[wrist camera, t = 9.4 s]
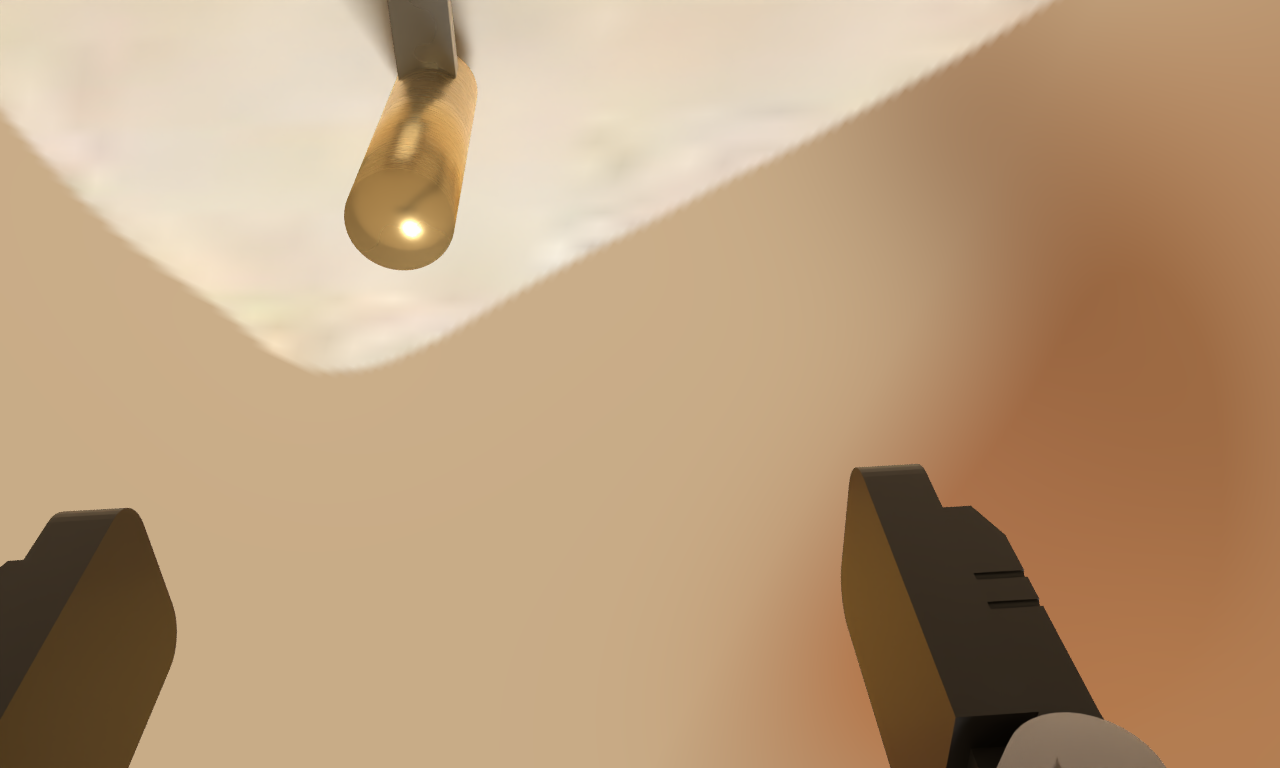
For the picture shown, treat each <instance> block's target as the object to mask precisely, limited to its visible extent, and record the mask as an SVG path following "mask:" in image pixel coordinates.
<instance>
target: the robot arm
mask: <svg viewBox="0 0 1280 768" xmlns="http://www.w3.org/2000/svg"><path fill="white" fill-rule="evenodd" d="M841 591H842V601H843V608H844V614H845V619H846V623H847V626H848V630H849V633H850V636H851V640H852V643H853V646H854V649H855V653H856V656H857V659H858V663H859V666H860V669H861V672H862V675H863V679H864V682H865V686H866V689H867V692H868V695H869V699H870V702H871V705H872V708H873V712H874V715H875V718H876V721H877V725H878V728H879V731H880V735H881V738H882V741H883V745H884V748H885V751H886V754H887V758H888V761H889V764H890V767H891V768H1166V767H1165V765H1164V764H1163V763H1162V761H1161V760H1160V758H1159V757H1158V756H1157V755H1156V754H1155V753H1154V752H1153V751H1152V750H1151V749H1150V748H1149V747H1148V746H1147V745H1146V744H1145V743H1144V742H1142V741H1141V740H1140V739H1139V738H1137V737H1136V736H1135V735H1133V734H1131V733H1130V732H1128V731H1127V730H1125V729H1124V728H1121V727H1119V726H1117V725H1115V724H1113V723H1111V722H1109V721H1106V720H1104V719H1103V717H1102V715H1101V714H1100V712H1099V710H1098V709H1097V707H1096V705H1095V703H1094V701H1093V699H1092V697H1091V695H1090V694H1089V692H1088V690H1087V688H1086V686H1085V684H1084V682H1083V680H1082V678H1081V677H1080V675H1079V673H1078V671H1077V669H1076V667H1075V665H1074V663H1073V661H1072V660H1071V658H1070V656H1069V654H1068V652H1067V650H1066V648H1065V646H1064V645H1063V643H1062V641H1061V639H1060V637H1059V635H1058V634H1057V632H1056V629H1055V628H1054V626H1053V624H1052V622H1051V620H1050V618H1049V617H1048V614H1047V613H1046V611H1045V609H1044V607H1043V606H1040V604H1039V597H1038V596H1037V594H1036V592H1035V590H1034V588H1033V586H1032V584H1031V583H1030V581H1029V579H1028V577H1025V576H1024V569H1023V567H1022V566H1021V564H1020V562H1019V560H1018V558H1017V556H1016V554H1015V552H1014V551H1013V549H1012V547H1011V545H1010V543H1009V541H1008V539H1007V537H1006V535H1005V534H1003V533H1002V532H1001V531H1000V530H999V529H998V528H996V527H995V526H994V525H993V524H992V523H991V522H989V521H988V520H987V519H986V518H985V517H983V516H982V515H981V514H980V513H979V512H978V511H976V510H975V509H974V508H972V506H962V507H944V508H943V507H942V505H941V503H940V501H939V499H938V497H937V495H936V493H935V490H934V488H933V486H932V484H931V482H930V480H929V478H928V475H927V473H926V471H925V470H924V468H923V467H922V466H921V465H920V464H909V465H894V466H893V465H892V466H877V467H876V466H875V467H859V468H854V469H853V471H852V473H851V476H850V482H849V491H848V502H847V512H846V523H845V533H844V544H843V555H842V566H841ZM176 636H177V627H176V617H175V611H174V608H173V604H172V602H171V599H170V596H169V593H168V590H167V588H166V585H165V582H164V579H163V577H162V574H161V571H160V568H159V566H158V563H157V560H156V557H155V555H154V552H153V549H152V546H151V543H150V541H149V538H148V535H147V532H146V530H145V527H144V524H143V522H142V519H141V518H140V516H139V514H138V513H137V512H136V511H134V510H133V509H131V508H119V509H103V510H102V509H101V510H84V511H67V512H59V513H57V514H55V515H54V516H53V517H52V518H51V519H50V520H49V522H48V523H47V525H46V526H45V528H44V529H43V531H42V532H41V534H40V535H39V537H38V538H37V540H36V542H35V543H34V545H33V546H32V548H31V549H30V551H29V552H28V554H27V556H26V557H25V559H24V560H17V561H7V562H6V563H5V564H4V565H3V566H1V567H0V768H128V767H129V765H130V762H131V760H132V757H133V755H134V753H135V750H136V748H137V746H138V743H139V741H140V738H141V736H142V734H143V731H144V729H145V727H146V724H147V722H148V719H149V717H150V715H151V712H152V710H153V707H154V705H155V703H156V700H157V698H158V696H159V693H160V691H161V688H162V686H163V684H164V681H165V679H166V677H167V674H168V672H169V669H170V667H171V664H172V661H173V658H174V654H175V648H176V638H177V637H176Z"/></svg>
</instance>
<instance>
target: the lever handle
mask: <svg viewBox="0 0 1280 768" xmlns="http://www.w3.org/2000/svg"><path fill="white" fill-rule="evenodd" d="M387 1H388V8H389V15H390V22H391V29H392V36H393V44H394V51H395V58H396V65H397V72H398V76H397V79H396V81H395V84H394V86H393V89H392V91H391V93H390V96H389V98H388V101H387V103H386V106H385V108H384V111H383V113H382V116H381V118H380V120H379V123H378V125H377V128H376V130H375V133H374V135H373V138H372V140H371V142H370V145H369V147H368V150H367V152H366V155H365V157H364V160H363V162H362V164H361V167H360V169H359V172H358V174H357V177H356V179H355V182H354V184H353V186H352V189H351V191H350V194H349V196H348V199H347V202H346V205H345V210H344V220H345V226H346V230H347V233H348V235H349V237H350V239H351V241H352V243H353V244H354V245H355V247H356V248H357V249H358V250H359V251H360V252H361V253H362V254H363V255H364V256H365V257H366V258H368V259H369V260H371V261H372V262H374V263H376V264H378V265H380V266H383V267H386V268H390V269H395V270H413V269H418V268H421V267H424V266H427V265H429V264H431V263H433V262H434V261H435V260H437V259H438V258H439V257H440V256H441V255H442V254H443V253H444V252H445V251H446V250H447V248H448V246H449V245H450V242H451V240H452V237H453V233H454V228H455V222H456V217H457V211H458V205H459V199H460V193H461V188H462V182H463V176H464V170H465V164H466V158H467V153H468V147H469V141H470V135H471V129H472V124H473V118H474V112H475V106H476V100H477V85H476V81H475V78H474V75H473V73H472V71H471V70H470V68H469V67H468V66H467V64H466V63H465V62H464V61H462V60H461V59H460V58H459V57H457V51H456V42H455V33H454V24H453V15H452V5H451V0H387Z"/></svg>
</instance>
